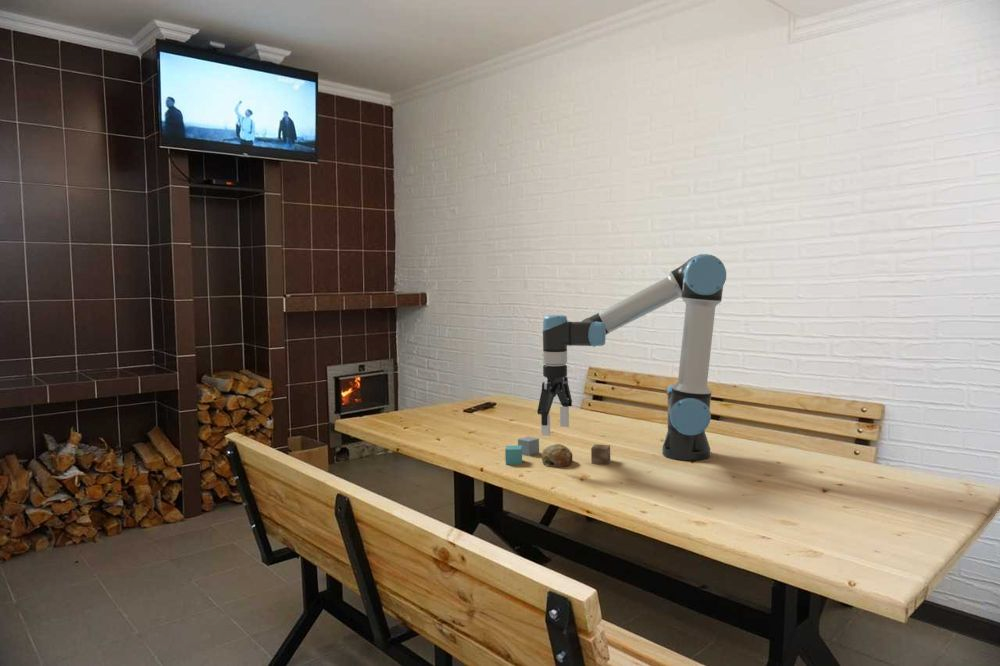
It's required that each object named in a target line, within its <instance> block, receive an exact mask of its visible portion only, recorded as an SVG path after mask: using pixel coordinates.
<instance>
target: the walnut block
mask: <svg viewBox="0 0 1000 666" xmlns="http://www.w3.org/2000/svg"><path fill="white" fill-rule="evenodd" d="M590 449H591V451H590V455H591V458H590V459H591V460H590V461H591V464H596V465H608V464H609V463H610V461H611V445H610V444H599V443H598V444H594V445H592V447H591V448H590Z"/></svg>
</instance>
